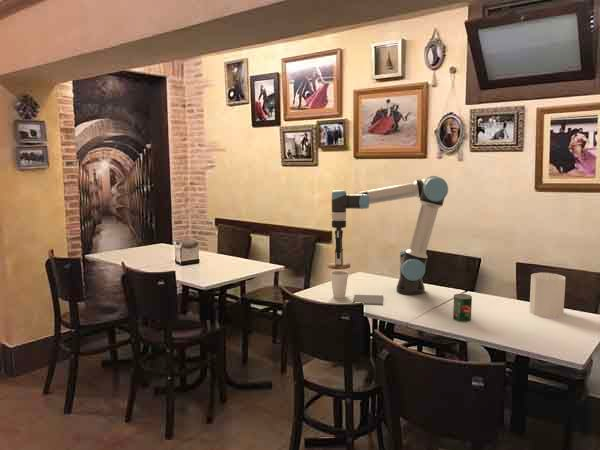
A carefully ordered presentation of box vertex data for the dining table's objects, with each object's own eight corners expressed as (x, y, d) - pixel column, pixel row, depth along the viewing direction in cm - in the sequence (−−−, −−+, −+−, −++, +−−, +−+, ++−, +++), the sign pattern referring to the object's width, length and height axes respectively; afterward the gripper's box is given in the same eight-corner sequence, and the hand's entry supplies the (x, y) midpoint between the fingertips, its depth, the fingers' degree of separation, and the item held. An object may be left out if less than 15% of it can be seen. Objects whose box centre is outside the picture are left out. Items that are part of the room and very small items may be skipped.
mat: (382, 296, 270) (382, 295, 270) (382, 304, 256) (382, 303, 256) (354, 295, 273) (354, 294, 273) (352, 303, 258) (352, 302, 258)
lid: (350, 264, 275) (350, 246, 274) (349, 269, 263) (349, 251, 262) (328, 264, 277) (328, 246, 275) (326, 269, 265) (326, 250, 264)
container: (549, 320, 230) (551, 281, 227) (522, 311, 242) (524, 274, 240) (569, 315, 236) (572, 277, 234) (542, 307, 249) (544, 271, 246)
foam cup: (348, 298, 268) (348, 274, 266) (331, 298, 268) (330, 274, 266) (347, 293, 277) (347, 270, 275) (330, 293, 277) (330, 270, 275)
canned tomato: (468, 323, 227) (469, 299, 225) (451, 320, 231) (451, 297, 230) (473, 318, 234) (473, 295, 232) (455, 315, 238) (456, 292, 236)
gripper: (333, 217, 275) (333, 259, 279) (330, 222, 259) (330, 266, 262) (347, 217, 274) (347, 260, 277) (344, 222, 257) (344, 267, 261)
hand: (338, 263), depth 270 cm, fingers closed on lid, 4 cm apart
